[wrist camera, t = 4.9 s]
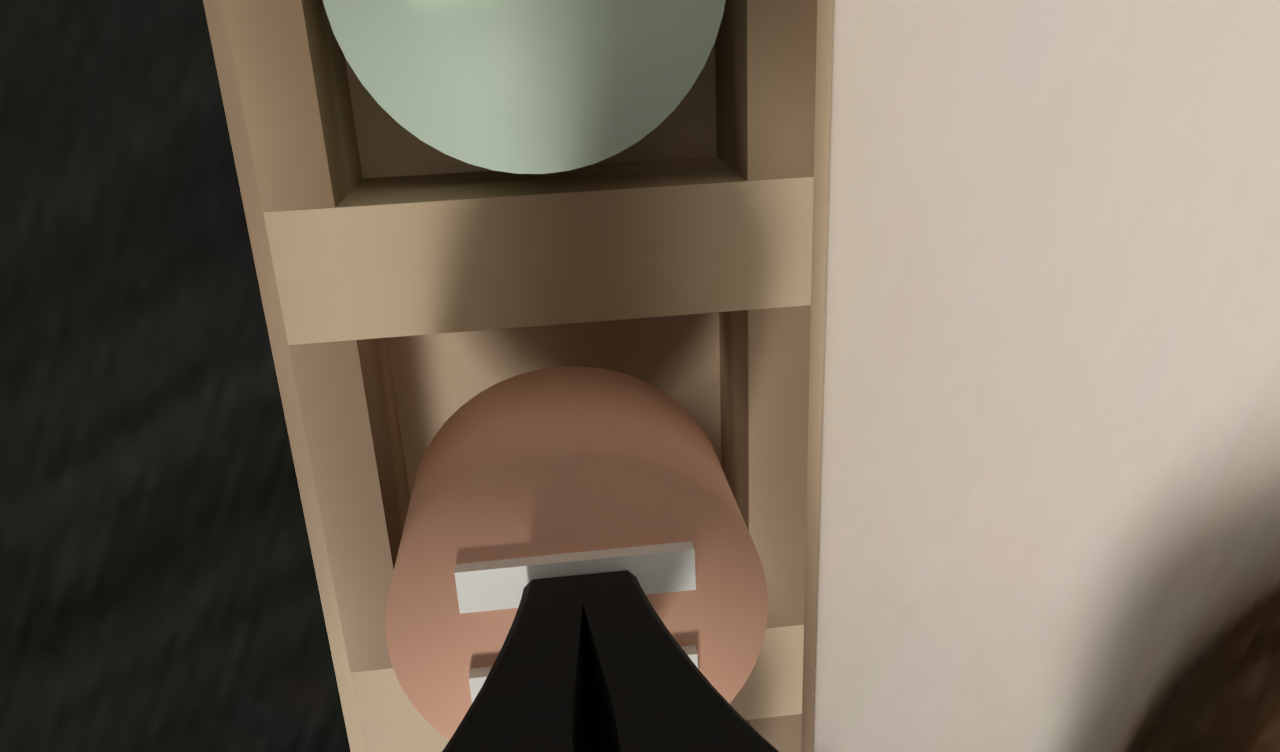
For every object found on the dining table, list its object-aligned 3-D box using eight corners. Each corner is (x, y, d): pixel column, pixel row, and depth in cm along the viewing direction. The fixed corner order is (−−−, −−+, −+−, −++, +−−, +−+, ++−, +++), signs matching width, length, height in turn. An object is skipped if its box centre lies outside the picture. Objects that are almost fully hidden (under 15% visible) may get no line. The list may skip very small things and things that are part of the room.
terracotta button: (432, 657, 16) (410, 806, 13) (390, 380, 14) (354, 479, 11) (726, 627, 16) (770, 763, 13) (722, 353, 15) (773, 441, 12)
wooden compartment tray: (393, 938, 23) (375, 1067, 20) (136, -394, 13) (34, -499, 11) (803, 884, 24) (840, 1001, 21) (834, -402, 14) (910, -502, 11)
